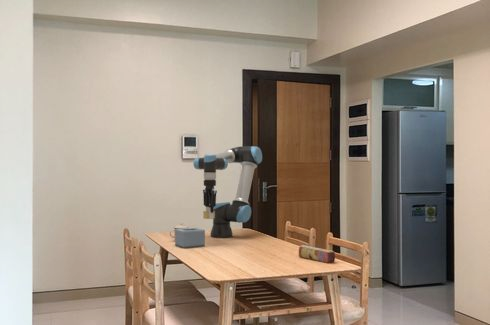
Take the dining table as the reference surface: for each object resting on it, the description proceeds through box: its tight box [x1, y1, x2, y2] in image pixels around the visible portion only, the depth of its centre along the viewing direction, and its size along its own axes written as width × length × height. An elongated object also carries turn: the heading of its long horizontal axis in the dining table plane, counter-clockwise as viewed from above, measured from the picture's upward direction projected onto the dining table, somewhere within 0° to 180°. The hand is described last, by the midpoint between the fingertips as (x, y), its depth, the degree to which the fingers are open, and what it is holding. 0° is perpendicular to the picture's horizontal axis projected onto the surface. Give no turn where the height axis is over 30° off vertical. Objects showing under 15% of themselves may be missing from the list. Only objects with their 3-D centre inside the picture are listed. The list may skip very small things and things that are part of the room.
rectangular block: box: [202, 210, 215, 220], centre depth 315 cm, size 6×4×4 cm, turn 123°
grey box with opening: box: [174, 227, 206, 249], centre depth 310 cm, size 14×12×10 cm
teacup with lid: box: [169, 222, 189, 239], centre depth 328 cm, size 12×9×12 cm
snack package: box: [298, 244, 336, 264], centre depth 270 cm, size 21×7×7 cm, turn 40°
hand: (209, 217), depth 315 cm, fingers closed on rectangular block, 3 cm apart
